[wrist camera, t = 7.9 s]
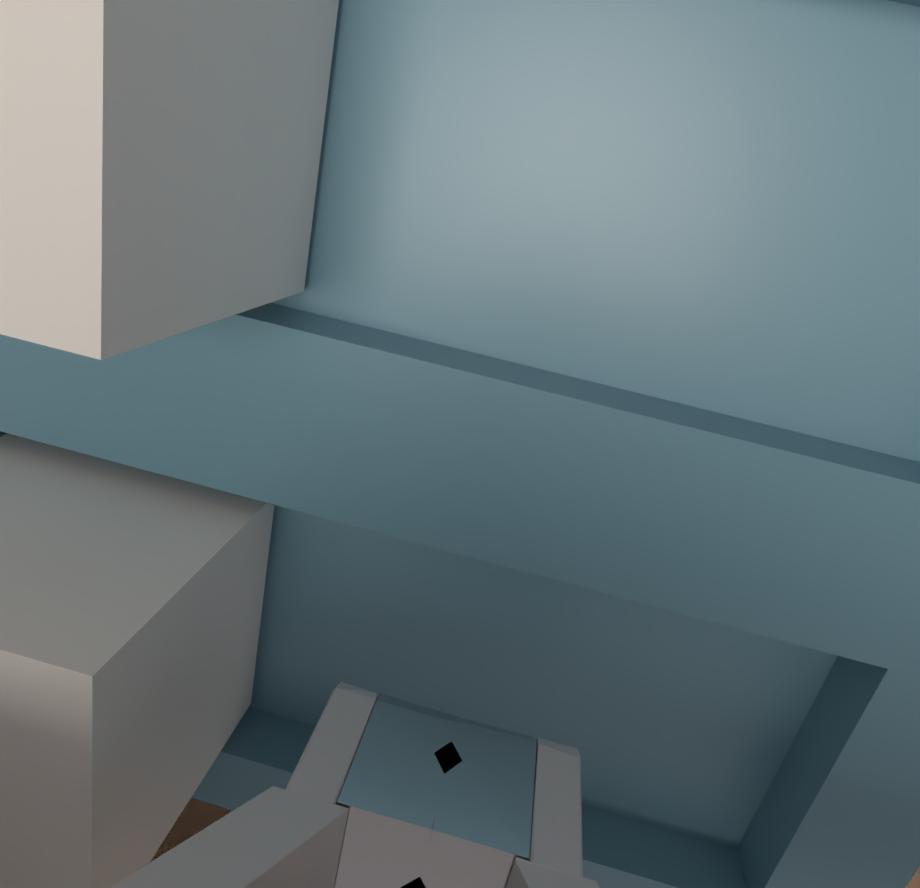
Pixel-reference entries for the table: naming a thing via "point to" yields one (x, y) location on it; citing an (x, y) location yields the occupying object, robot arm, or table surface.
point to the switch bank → (586, 419)
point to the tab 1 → (155, 163)
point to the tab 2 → (115, 656)
